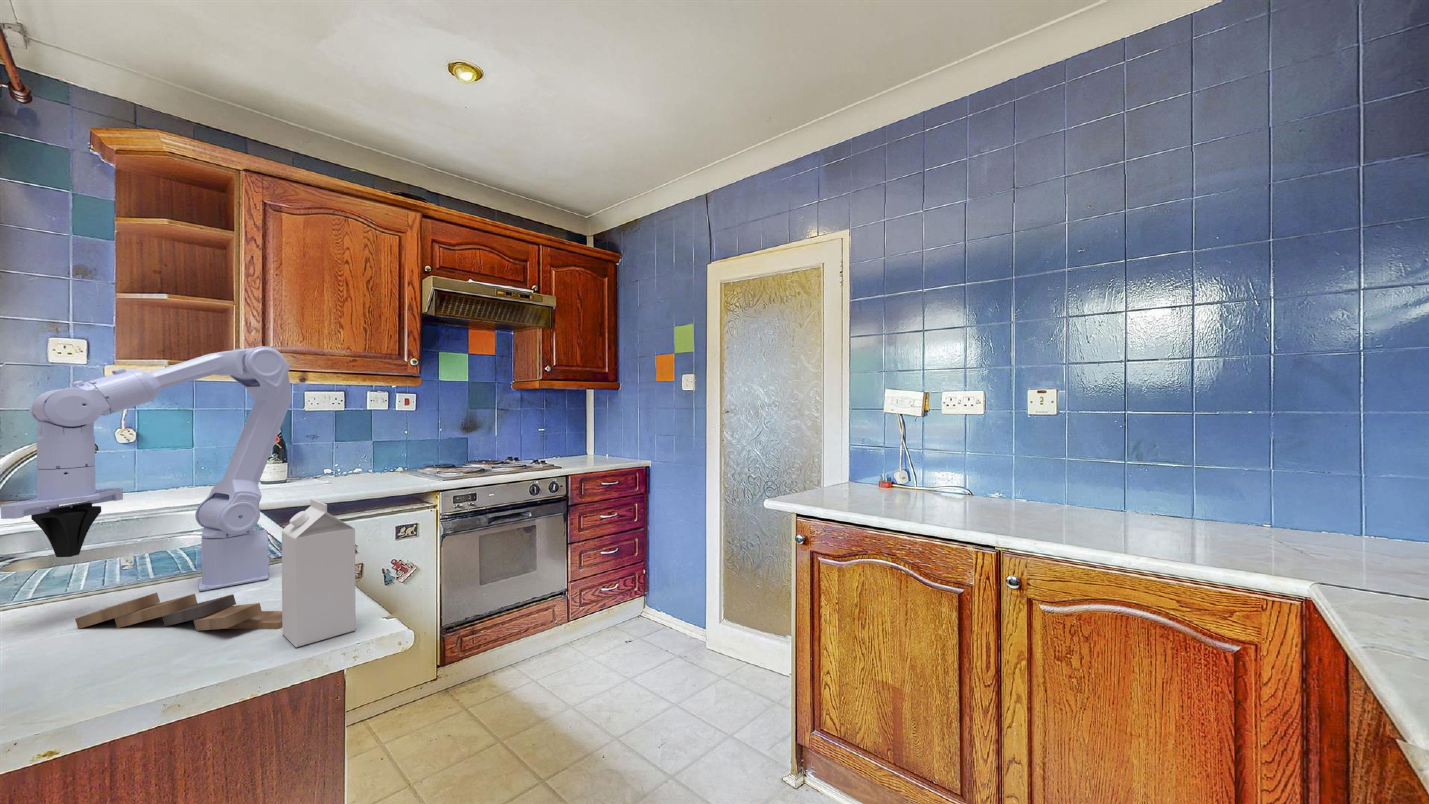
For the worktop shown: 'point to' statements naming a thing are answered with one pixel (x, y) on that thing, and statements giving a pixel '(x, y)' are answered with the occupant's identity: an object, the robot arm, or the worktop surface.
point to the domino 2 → (156, 610)
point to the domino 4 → (262, 621)
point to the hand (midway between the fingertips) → (67, 555)
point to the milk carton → (317, 576)
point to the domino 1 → (117, 610)
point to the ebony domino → (199, 610)
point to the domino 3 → (228, 617)
